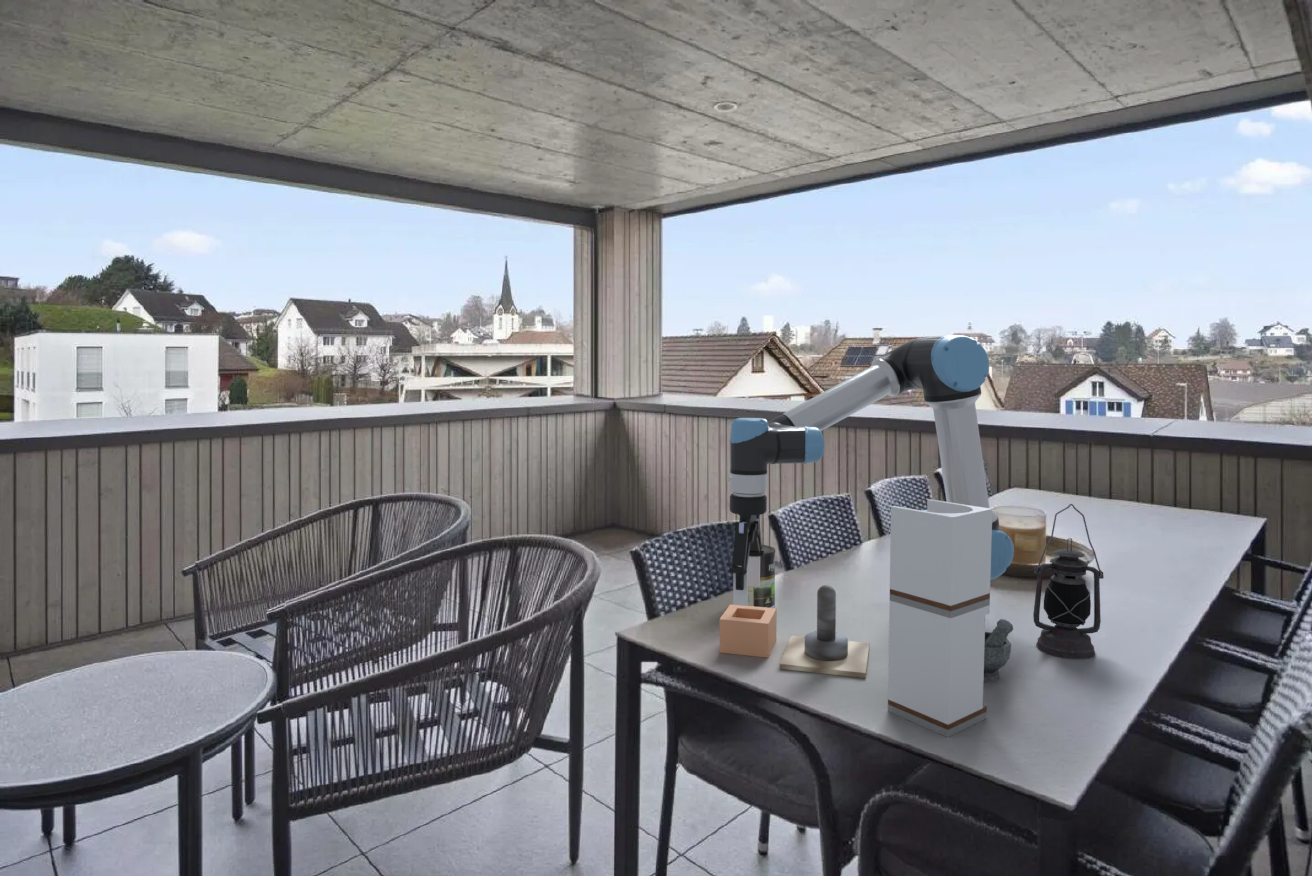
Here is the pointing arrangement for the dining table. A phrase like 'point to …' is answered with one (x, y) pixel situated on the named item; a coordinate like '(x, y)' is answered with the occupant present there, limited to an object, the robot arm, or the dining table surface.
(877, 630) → the dining table surface
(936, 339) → the robot arm
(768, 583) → the coffee can
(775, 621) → the square collar
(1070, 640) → the lantern
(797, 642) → the post stand
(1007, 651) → the mortar and pestle
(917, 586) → the white square vase
